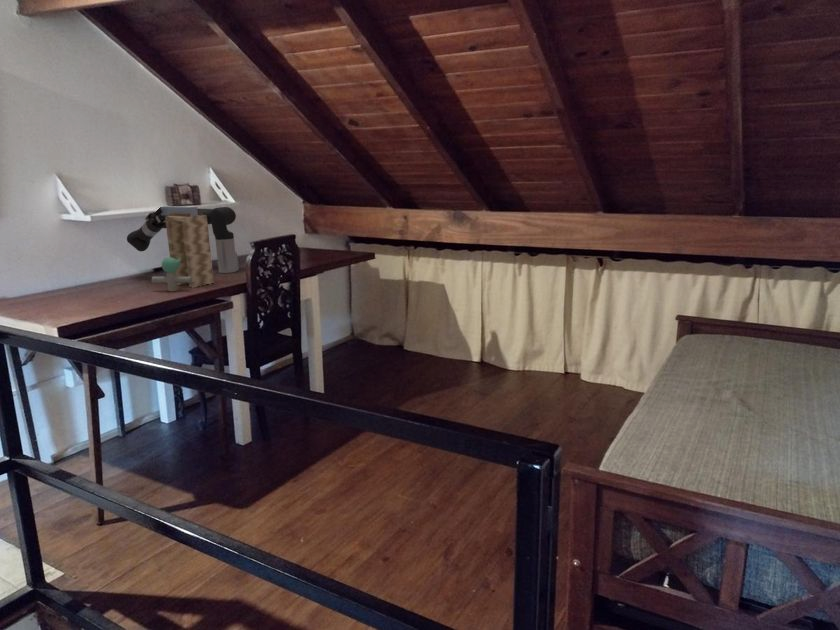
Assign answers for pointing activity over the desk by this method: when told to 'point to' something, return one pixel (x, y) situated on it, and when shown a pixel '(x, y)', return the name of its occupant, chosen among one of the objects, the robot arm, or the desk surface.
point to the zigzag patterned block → (190, 247)
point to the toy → (171, 274)
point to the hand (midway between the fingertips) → (169, 209)
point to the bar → (179, 210)
